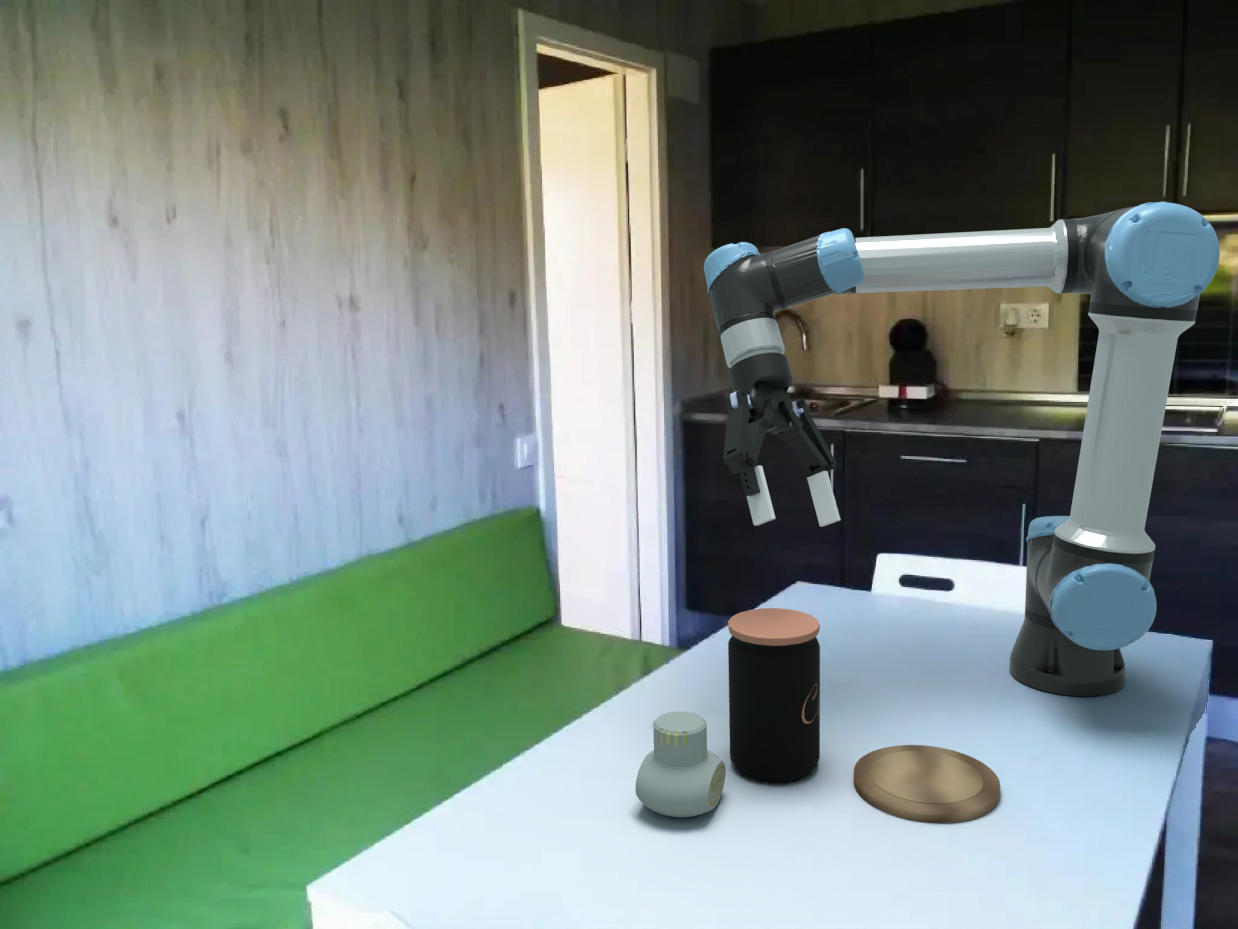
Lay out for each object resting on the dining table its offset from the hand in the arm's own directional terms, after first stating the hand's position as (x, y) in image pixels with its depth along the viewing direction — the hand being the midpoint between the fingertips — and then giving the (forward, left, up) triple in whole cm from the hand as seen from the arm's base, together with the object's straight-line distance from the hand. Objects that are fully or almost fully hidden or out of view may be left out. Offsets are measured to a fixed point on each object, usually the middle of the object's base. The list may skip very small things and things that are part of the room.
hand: (798, 523), depth 127 cm
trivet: (-12, +13, -28) cm, 33 cm away
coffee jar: (+4, +6, -28) cm, 29 cm away
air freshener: (+16, +14, -28) cm, 36 cm away
